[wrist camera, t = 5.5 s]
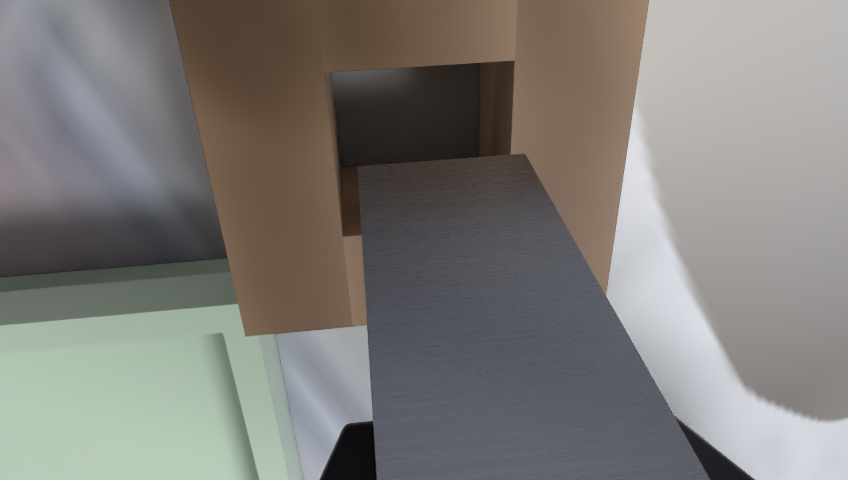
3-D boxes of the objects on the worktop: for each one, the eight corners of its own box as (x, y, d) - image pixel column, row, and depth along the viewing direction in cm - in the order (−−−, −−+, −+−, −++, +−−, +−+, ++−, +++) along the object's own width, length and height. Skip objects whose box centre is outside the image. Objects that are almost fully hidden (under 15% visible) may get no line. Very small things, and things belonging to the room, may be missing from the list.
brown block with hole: (596, -109, 17) (661, -91, 13) (564, 229, 22) (604, 302, 19) (192, -91, 16) (153, -67, 13) (259, 255, 21) (245, 336, 18)
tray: (259, 255, 21) (251, 302, 19) (311, 523, 29) (310, 579, 27) (-277, 301, 20) (-348, 357, 18) (-76, 569, 28) (-111, 631, 26)
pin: (525, 153, 12) (769, 585, 5) (517, 288, 14) (695, 751, 7) (357, 166, 12) (386, 634, 5) (369, 301, 13) (404, 794, 7)
